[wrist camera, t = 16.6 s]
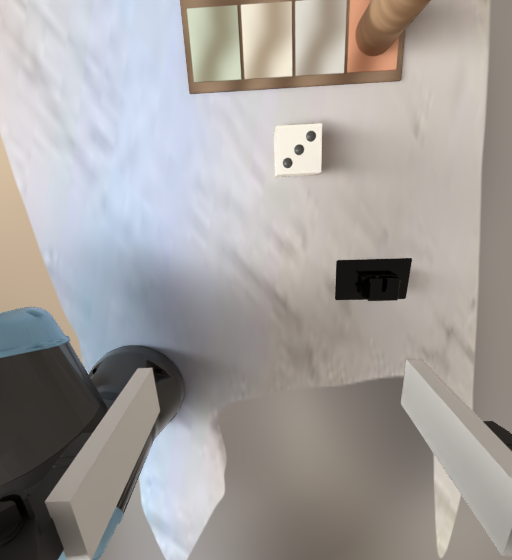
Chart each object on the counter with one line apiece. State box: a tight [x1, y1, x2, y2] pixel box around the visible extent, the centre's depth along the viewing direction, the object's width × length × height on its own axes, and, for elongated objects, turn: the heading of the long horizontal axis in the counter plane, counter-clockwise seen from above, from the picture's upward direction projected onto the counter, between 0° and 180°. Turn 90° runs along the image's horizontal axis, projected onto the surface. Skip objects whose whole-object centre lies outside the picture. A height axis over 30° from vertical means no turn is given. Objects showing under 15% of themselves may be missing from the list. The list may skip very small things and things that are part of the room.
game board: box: [180, 0, 405, 94], centre depth 32 cm, size 25×9×1 cm, turn 93°
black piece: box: [335, 258, 412, 301], centre depth 39 cm, size 13×8×5 cm, turn 92°
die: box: [274, 123, 322, 177], centre depth 34 cm, size 5×5×5 cm
